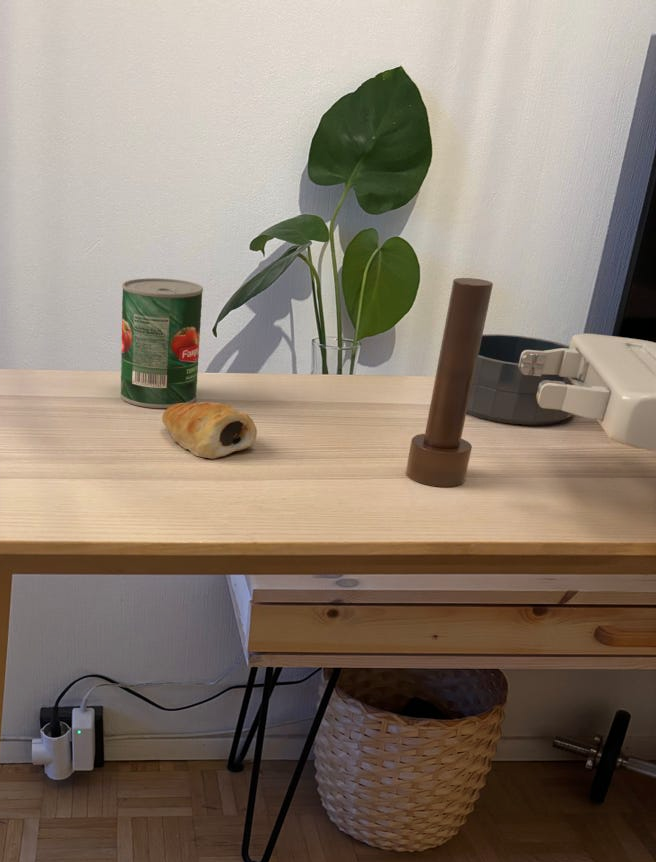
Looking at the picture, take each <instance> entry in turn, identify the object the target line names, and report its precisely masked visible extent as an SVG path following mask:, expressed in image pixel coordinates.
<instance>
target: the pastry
mask: <svg viewBox="0 0 656 862" xmlns="http://www.w3.org/2000/svg"><path fill="white" fill-rule="evenodd" d="M161 421H162V423H163V424H164V426H165V428H166V429H167V432H168V434H170V437H171V438H172V440H173V441H174V443H176V444H178V446H180V447H181V448H183V449H184V450H188V451H190V453H191V454H193V455H194V456H197V457H200V458H207V459H211V460H214V459H217V458H223V457H226V456H229V455H230V454H232V453H234V452H240V451H243V450H245V449H248V448H250V447H251V446H252V445H253V444H254V443H255V441H256V440H257V436H258V435H257V434H258V429H257V427H256V424H255V421H254V419H253V418H252V417H250V416H249V414H248V413H247V412H240V411H238V410H237V409H234V408H232V407H231V406H230V405H229V404H223V403H220V402H210V401H203V402H194V403H177V404H174V405H172V406H170V407H169V408H165V410H164V412H163V413H162V416H161Z"/></svg>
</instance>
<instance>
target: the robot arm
mask: <svg viewBox="0 0 656 862" xmlns="http://www.w3.org/2000/svg"><path fill="white" fill-rule="evenodd" d="M568 346H569V349H567V348H559V349H552V350H546V351H536V350H524V351H523V352H522V353H521V356H520V361H519V365H518V367H519V369H520V371H521V372H522V374H524V375H532V376H541V375H542V374H549V375H559V376H560V377H568V379H569V380H570V381H571V383H572V384H573V385H568V384H565V383H564V382H562V381H550V380H544V381H542V382H541V383H539V386H538V392H537V394H536V400H537V402H538V404H539V406H540V407H542V408H547V409H557V410H562V411H565V412H568V413H572V414H574V415H575V416H578V417H581V418H584V419H590V420H597V422H598V423H599V425H600V426H601V428H602V429H603V430H604V432H605V434H606V435H607V437H608V438H609V439H610V440H611V441H614V442H615V443H618V444H621V445H623V446H627V447H630V448H632V449H633V448H634V449H639V450H645V451H651V452H656V342H654V341H650V340H644V339H638V338H630V337H622V336H616V335H615V336H614V335H607V334H599V333H598V334H597V333H579V334H574V335H572V337H571V340H570V342H569V345H568Z"/></svg>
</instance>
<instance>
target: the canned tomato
mask: <svg viewBox="0 0 656 862" xmlns="http://www.w3.org/2000/svg"><path fill="white" fill-rule="evenodd" d="M121 288H122V297H121V298H122V301H121V307H122V308H121V317H122V318H121V351H120V352H121V353H120V354H121V358H120V359H121V360H120V363H121V364H120V392H119V396H120V398H121V399H122V401H124V402H126V403H129V404H130V405H134V406H138V407H143V408H151V409H167V408H169V407H170V406H172V405H174V404H177V403H196V401H197V398H198V396H197V387H198V373H199V372H198V371H199V359H200V357H199V356H200V355H199V354H200V341H201V338H200V336H201V326H202V325H201V324H202V323H201V319H202V308H203V307H202V306H203V305H202V303H203V291H204V287H203V286H202V285H200V284H199V283H196V282H192V281H187V280H182V279H173V278H156V277H153V278H152V277H149V278H136V279H135V278H134V279H130V280H126V281H124V282H123V283H122V284H121Z"/></svg>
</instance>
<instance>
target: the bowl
mask: <svg viewBox="0 0 656 862" xmlns="http://www.w3.org/2000/svg"><path fill="white" fill-rule="evenodd" d="M559 348H567V349H569V345H568V344H565V343H562V342H558V341H553V340H549V339H545V338H544V339H543V338H539V337H538V338H537V337H531V336H523V335H515V334H501V333H499V334H497V333H496V334H495V333H491V334H490V333H486V334H484V333H483V335H482V340H481V345H480V350H479V355H478V359H477V364H476V369H475V374H474V379H473V384H472V389H471V393H470V398H469V403H468V408H467V413H468V415H470V416H473V417H476V418H479V417H480V418H479V419H483V420H486V419H487V420H486V421H491V420H492V421H491V422H496V421H497V422H496V423H503V424H508V423H509V425H518V424H522V425H521V426H546V425H554V424H558V423H562V422H563V421H565V420H567V419H568V418H570V417H572V416H574V415H575V414H572V413H568V412H565V411H562V410H557V409H547V408H542V407H540V406H539V404H538V402H537V400H536V394H537V392H538V386H539V383H541V382H542V381H544V380H550V381H562V382H564V383H565V384H568V385H573V384H572V383H571V381H570V380H569V379H568V377H560V376H559V375H549V374H542V375H541V376H532V375H524V374H522V372H521V371H520V369H519V367H518V365H519V361H520V356H521V353H522V352H523V351H524V350H536V351H546V350H552V349H559ZM467 413H466V414H467Z"/></svg>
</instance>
